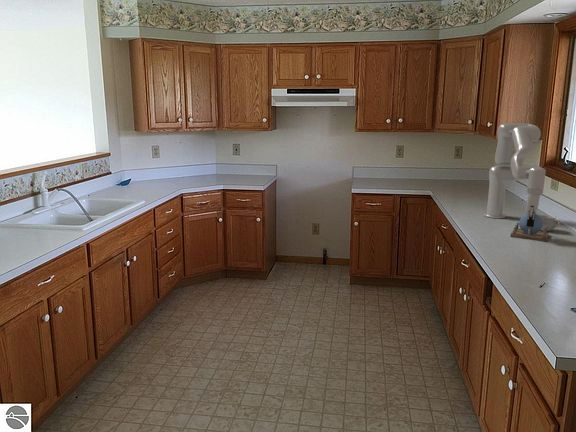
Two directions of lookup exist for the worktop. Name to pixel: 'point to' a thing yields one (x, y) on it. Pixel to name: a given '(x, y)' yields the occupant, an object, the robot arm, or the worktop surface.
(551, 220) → the teacup
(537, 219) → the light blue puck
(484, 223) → the worktop surface
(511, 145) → the robot arm
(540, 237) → the dish rack
